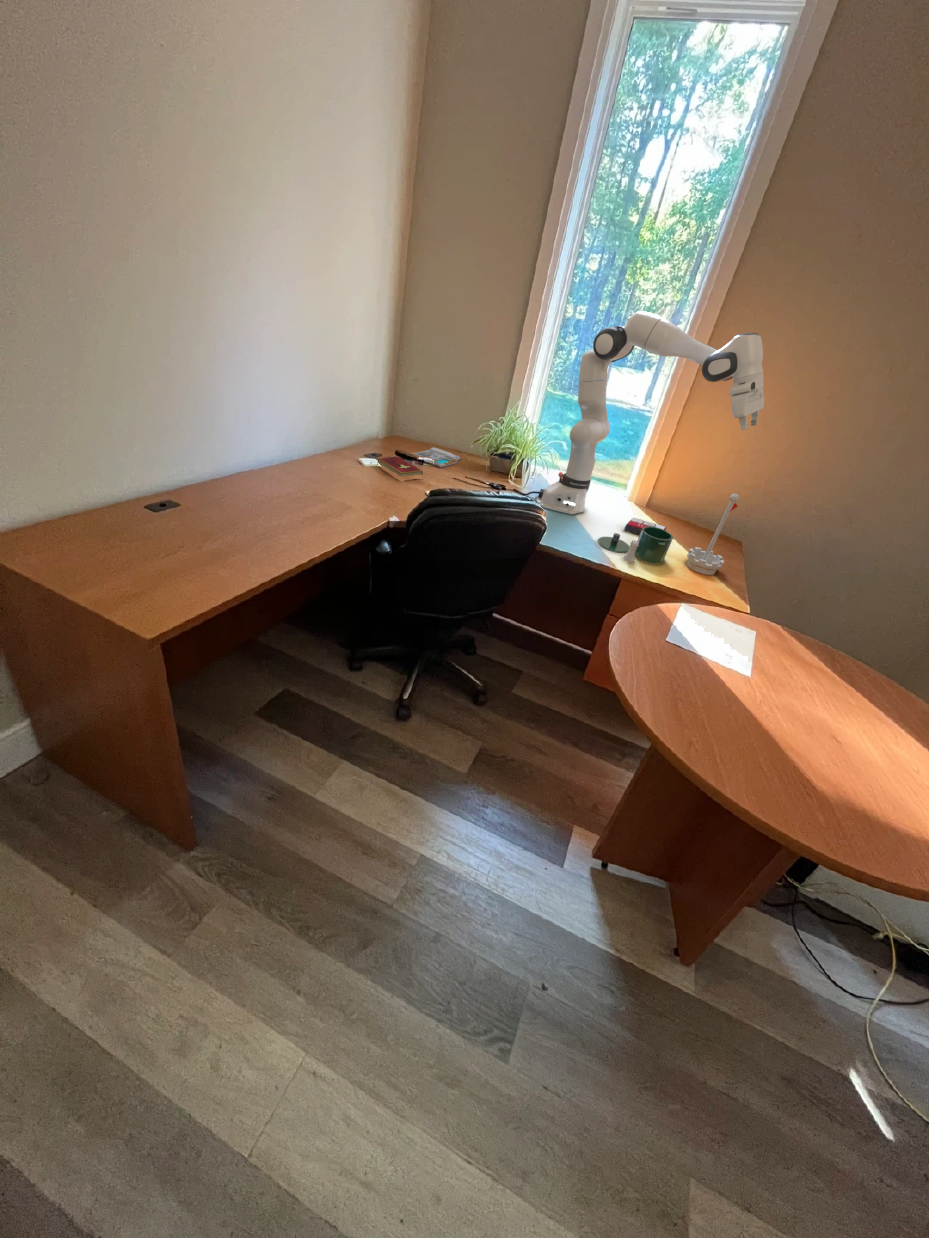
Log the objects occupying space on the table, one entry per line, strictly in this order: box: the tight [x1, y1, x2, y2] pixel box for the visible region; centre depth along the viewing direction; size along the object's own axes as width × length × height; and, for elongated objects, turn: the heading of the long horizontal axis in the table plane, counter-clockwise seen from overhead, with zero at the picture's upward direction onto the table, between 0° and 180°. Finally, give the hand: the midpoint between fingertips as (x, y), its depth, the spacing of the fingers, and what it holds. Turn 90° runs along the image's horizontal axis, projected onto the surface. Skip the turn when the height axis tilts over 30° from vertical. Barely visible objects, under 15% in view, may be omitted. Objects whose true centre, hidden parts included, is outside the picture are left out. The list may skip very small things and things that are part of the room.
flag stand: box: [686, 493, 740, 576], centre depth 182 cm, size 13×13×30 cm
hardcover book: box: [376, 455, 424, 477], centre depth 227 cm, size 12×21×4 cm, turn 39°
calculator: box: [624, 517, 667, 537], centre depth 210 cm, size 11×4×15 cm
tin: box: [635, 525, 674, 565], centre depth 188 cm, size 12×17×10 cm
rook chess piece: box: [622, 540, 639, 564], centre depth 184 cm, size 4×4×8 cm
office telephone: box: [412, 446, 461, 469], centre depth 253 cm, size 23×3×20 cm
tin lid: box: [597, 532, 630, 554], centre depth 193 cm, size 13×13×5 cm
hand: (749, 427), depth 171 cm, fingers open, 8 cm apart
